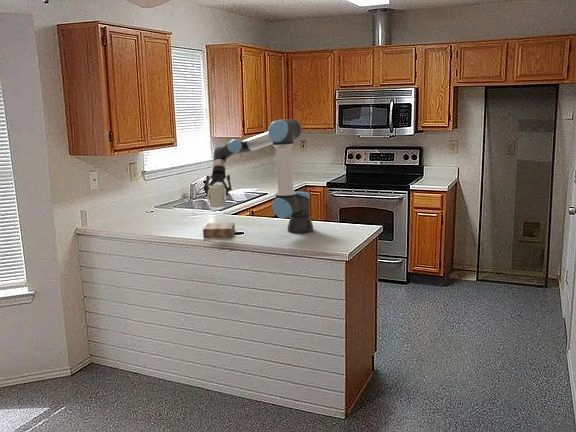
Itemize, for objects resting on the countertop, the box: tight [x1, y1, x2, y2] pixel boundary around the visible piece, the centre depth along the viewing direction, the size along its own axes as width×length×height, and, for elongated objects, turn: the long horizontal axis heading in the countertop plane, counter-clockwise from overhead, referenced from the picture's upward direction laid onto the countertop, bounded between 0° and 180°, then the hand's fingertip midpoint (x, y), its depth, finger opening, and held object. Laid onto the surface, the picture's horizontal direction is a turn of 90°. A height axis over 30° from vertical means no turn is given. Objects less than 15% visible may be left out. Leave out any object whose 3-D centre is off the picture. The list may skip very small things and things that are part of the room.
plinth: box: [202, 222, 236, 239], centre depth 326 cm, size 16×16×5 cm
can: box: [209, 184, 227, 208], centre depth 322 cm, size 9×9×12 cm
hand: (216, 200), depth 319 cm, fingers closed on can, 9 cm apart
